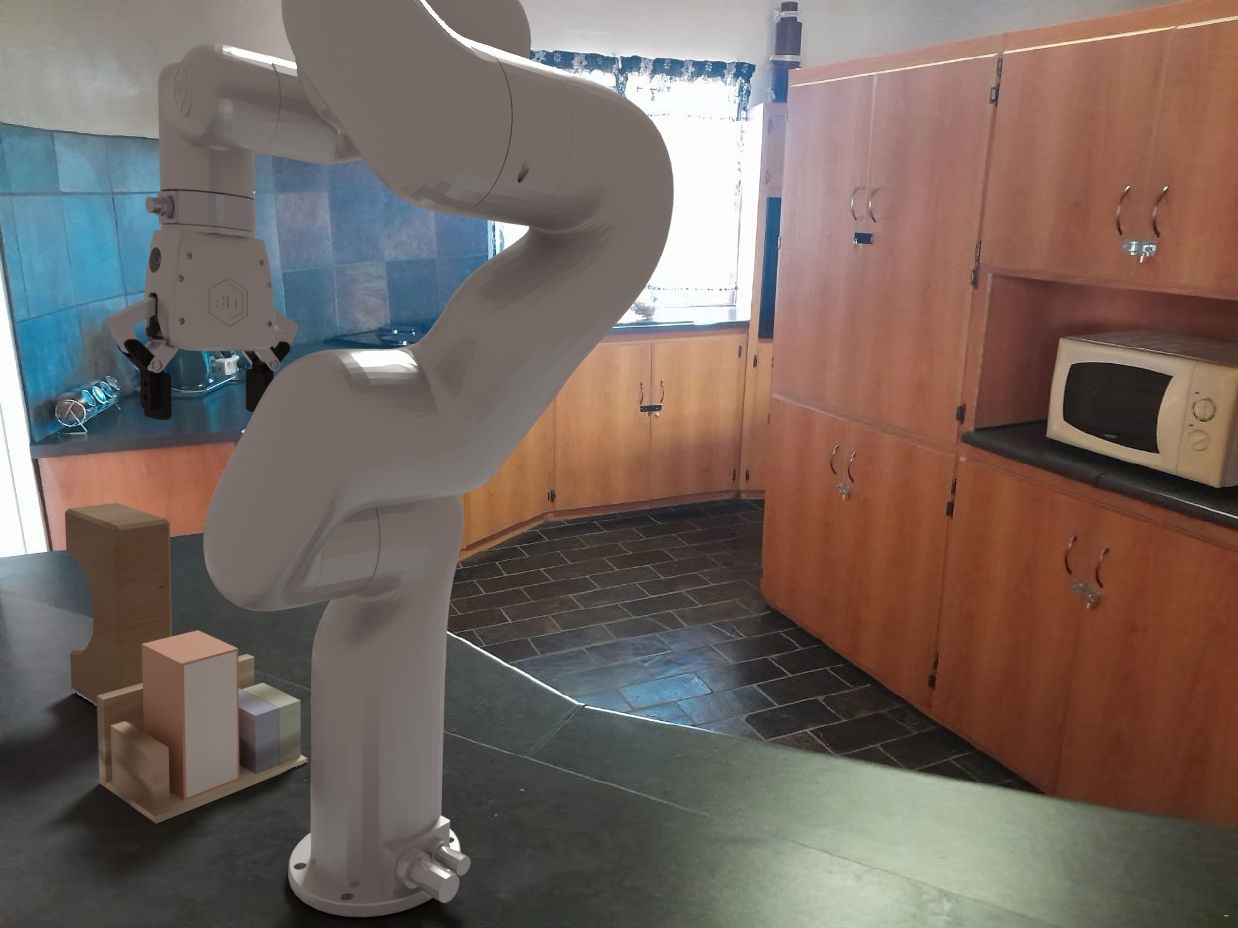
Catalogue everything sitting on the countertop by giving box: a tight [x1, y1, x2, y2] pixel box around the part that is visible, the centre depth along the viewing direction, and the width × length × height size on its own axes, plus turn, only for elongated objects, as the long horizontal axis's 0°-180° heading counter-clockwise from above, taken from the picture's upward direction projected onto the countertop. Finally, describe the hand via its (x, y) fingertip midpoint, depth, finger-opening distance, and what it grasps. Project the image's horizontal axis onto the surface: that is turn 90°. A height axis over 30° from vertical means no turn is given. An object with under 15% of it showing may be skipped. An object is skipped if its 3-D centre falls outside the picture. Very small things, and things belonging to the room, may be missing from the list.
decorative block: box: [64, 502, 173, 704], centre depth 95 cm, size 11×6×20 cm, turn 52°
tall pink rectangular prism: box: [142, 629, 239, 801], centre depth 80 cm, size 7×5×12 cm
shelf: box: [96, 653, 308, 824], centre depth 82 cm, size 10×14×8 cm
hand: (210, 415), depth 82 cm, fingers open, 9 cm apart
